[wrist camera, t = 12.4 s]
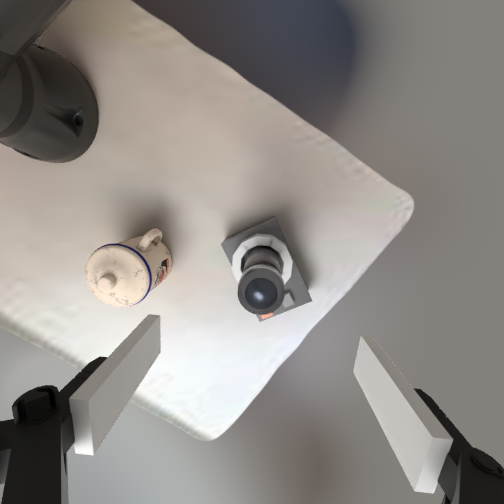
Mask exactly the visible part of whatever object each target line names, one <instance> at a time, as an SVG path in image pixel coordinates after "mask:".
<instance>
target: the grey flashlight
mask: <svg viewBox="0 0 504 504" xmlns="http://www.w3.org/2000/svg"><path fill="white" fill-rule="evenodd" d="M284 297H285V285H284V280H283V278H282V275H281V270H280V265H279V260H278V256H277V252H276V251H275V249H273V248H272V247H271V246H264V245H257V246H255V247H252V248H251V249H250V251H249V253H248V256H247V259H246V263H245V266H244V270H243V273H242V276H241V277H240V280H239V284H238V298H239V301H240V303H241V305H242V306H243V307H244V308H245V309H246V310H247V311H249V312H251V313H253V314H258V315H266V314H270V313H272V312H274V311H276V310H277V309H278V308H279V307H280V306H281V304H282V303H283V300H284Z"/></svg>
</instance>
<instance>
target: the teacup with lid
mask: <svg viewBox="0 0 504 504" xmlns="http://www.w3.org/2000/svg"><path fill="white" fill-rule="evenodd" d="M161 238H162V232H161V231H160V230H159V229H157V228H154V229H151V230H150V231H148V232H147V233H146V234H145V235H144V236H139V237H135V238H132V239H129V240H126V241H123V242H120V243H116V244H107V245H104V246H102V247H100V248H98V249H97V250H96V251H95V252H94V253H93V254H92V255H91V256H90V258H89V260H88V262H87V265H86V270H85V274H86V280H87V283H88V286H89V288H90V289H91V291H92V292H93V293H94V295H95V296H96V297H97V298H99V299H100V300H101V301H103V302H105V303H107V304H109V305H112V306H117V307H127V306H132V305H135V304H137V303H139V302H140V301H142V300H143V299H144V298H145V297H146V296H147V294H148V293H149V292H150V291H151V290H152V289H153V288H155V287H156V286H157V285H158V284H159V283H161V282H162V281H163V280H164V279H165V278H166V277H167V276H168V275H169V273H170V270H171V267H172V259H171V255H170V252H169V250H168V249H167V247H166V246H165V245H164V244H163V243H162V242H161V241H160V240H161Z"/></svg>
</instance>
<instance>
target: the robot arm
mask: <svg viewBox="0 0 504 504" xmlns="http://www.w3.org/2000/svg"><path fill="white" fill-rule="evenodd" d="M75 1H77V0H75ZM71 2H72V0H0V143H2V144H4V145H6V146H8V147H11V148H13V149H14V150H16V151H17V152H19V153H21V154H23V155H25V156H27V157H30V158H32V159H36V160H40V161H46V162H53V163H64V162H68V161H72V160H74V159H76V158H78V157H79V156H81V155H82V154H83V153H84V152H85V151H86V150H87V149H88V148H89V147H90V145H91V143H92V141H93V139H94V137H95V134H96V131H97V125H98V110H97V104H96V100H95V97H94V94H93V92H92V89H91V87H90V85H89V84H88V82H87V80H86V79H85V77H84V76H83V75H82V74H81V72H80V71H79V70H78V69H77V68H76V67H75V66H73V65H72V64H71V63H70V62H68V61H67V60H65V59H64V58H62V57H61V56H60V55H58V54H57V53H55V52H53V51H51V50H49V49H47V48H45V47H42V46H39V45H36V44H33V43H34V41H35V40H36V39H37V38H38V37H39V36H40V35H41V34H42V33H43V32H44V31H45V30H46V28H47V27H48V26H49V25H50V24H51V23H52V22H53V21H54V20H55V19H56V18H57V17H58V16H59V14H60V13H61V12H62V11H63V10H64V9H65V8H66V7H67V6H68V5H69V4H70V3H71ZM159 353H160V315H150V314H149V315H148V316H147V317H146V318H145V319H144V320H143V321H142V322H141V323H140V324H139V325H138V326H137V327H136V328H135V329H134V330H133V331H132V333H131V334H130V335H129V336H128V337H127V338H126V339H125V340H124V341H123V342H122V343H121V344H120V345H119V346H118V347H117V348H116V349H115V350H114V352H113V353H112V354H111V355H110V356H109V357H98V358H97V359H95V360H93V361H92V362H90V363H89V364H88V365H87V366H86V367H85V368H84V369H82V370H81V372H79V373H78V374H77V375H76V376H75V378H74V379H72V380H71V381H70V382H69V383H68V384H67V385H66V386H65V387H64V388H63V389H62V390H61V391H60V392H59V391H58V389H57V387H55V386H52V385H45V386H41V387H37V388H34V389H32V390H30V391H28V392H26V393H24V394H23V395H21V396H20V397H19V398H18V399H17V400H16V401H15V402H14V404H13V406H12V411H13V416H14V419H11V420H6V421H0V484H4V483H5V486H4V491H3V497H2V503H1V504H68V475H67V474H68V472H67V451H68V450H69V449H70V447H71V446H72V445H73V443H74V445H75V453H77V454H86V455H94V454H95V452H96V451H97V449H98V448H99V446H100V445H101V443H102V442H103V440H104V439H105V437H106V435H107V434H108V432H109V431H110V429H111V428H112V426H113V425H114V423H115V421H116V420H117V418H118V417H119V415H120V414H121V412H122V411H123V409H124V407H125V406H126V404H127V403H128V401H129V400H130V398H131V397H132V395H133V394H134V392H135V391H136V389H137V387H138V386H139V384H140V383H141V381H142V380H143V378H144V377H145V375H146V374H147V372H148V370H149V369H150V367H151V366H152V364H153V363H154V361H155V360H156V358H157V357H158V355H159ZM353 372H354V374H355V376H356V378H357V380H358V382H359V384H360V386H361V388H362V390H363V392H364V394H365V396H366V398H367V400H368V402H369V404H370V406H371V408H372V409H373V412H374V413H375V415H376V417H377V419H378V421H379V423H380V425H381V427H382V429H383V431H384V433H385V435H386V437H387V439H388V441H389V443H390V444H391V446H392V448H393V450H394V452H395V454H396V456H397V458H398V460H399V462H400V464H401V466H402V468H403V470H404V472H405V474H406V475H407V478H408V480H409V482H410V484H411V485H412V487H413V489H414V491H417V492H425V493H434V491H435V489H436V486H437V483H439V484H440V486H441V488H442V489H443V491H444V493H445V495H444V498H443V501H442V503H441V504H504V469H503V467H502V466H501V465H500V464H499V463H498V462H497V461H496V460H495V459H493V458H492V457H491V456H489V455H488V454H486V453H485V452H483V451H481V450H478V449H476V448H473V447H472V446H471V445H470V444H469V443H468V441H467V440H466V439H465V438H464V436H463V435H462V434H461V433H460V432H459V430H458V429H457V428H456V427H455V426H454V424H453V423H452V422H451V421H450V420H449V419H448V418H447V417H446V415H445V414H444V412H443V411H442V410H441V409H439V406H438V405H437V404H436V403H435V402H434V400H433V399H432V398H431V397H430V396H428V395H427V394H426V393H425V392H423V391H422V390H421V389H414V388H413V387H412V386H411V385H410V384H409V382H408V381H407V380H406V378H405V377H404V376H403V375H402V373H401V372H400V371H399V369H398V368H397V367H396V366H395V364H394V363H393V362H392V360H391V359H390V358H389V357H388V355H387V354H386V353H385V351H384V350H383V349H382V348H381V347H380V345H379V344H378V343H377V341H376V340H375V339H374V338H373V337H370V336H361V338H360V343H359V347H358V352H357V357H356V361H355V366H354V370H353Z"/></svg>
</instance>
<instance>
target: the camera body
mask: <svg viewBox="0 0 504 504" xmlns="http://www.w3.org/2000/svg"><path fill="white" fill-rule="evenodd" d="M221 245H222V247H223V249H224V251H225V253H226V255H227V257H228V259H229V261H230V263H231V265H232V272H233V274H234V276H235V278H236V280H237V282H238V284H239V280H240V277H241V276H242V273H243V270H244V266H245V263H246V259H247V256H248V253H249V251H250V249H251V248H252V247H255V246H257V245H264V246H271V247H272V248H273V249H275V251H276V252H277V256H278V260H279V265H280V270H281V275H282V278H283V280H284V285H285V297H284V300H283V303H282V304H281V306H280V307H279V308H278V309H277V310H276V311H274V312H272V313H270V314H266V315H258V314H256V315H257V317H258V319H259V321H260V322H261V321H263V320H266V319H268V318H271V317H273V316H276V315H278V314H281V313H283V312H286V311H288V310H291V309H293V308H296V307H298V306H301V305H303V304H306V303H308V302H311V301H312V299H311V297H310V294H309V292H308V290H307V288H306V285H305V283H304V281H303V279H302V276H301V274H300V272H299V270H298V267H297V265H296V263H295V261H294V258H293V256H292V254H291V252H290V249H289V247H288V245H287V243H286V240H285V238H284V236H283V233H282V231H281V229H280V227H279V224H278V222H277V220H276V218H275V217H273V218H271V219H268V220H266V221H264V222H262V223H260V224H257V225H255V226H253V227H251V228H249V229H247V230H244V231H242V232H240V233H238V234H236V235H234V236H231V237H229V238H227V239H225V240H224V241H223V242H222V243H221Z"/></svg>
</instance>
